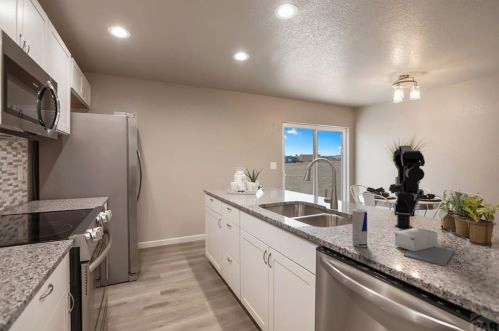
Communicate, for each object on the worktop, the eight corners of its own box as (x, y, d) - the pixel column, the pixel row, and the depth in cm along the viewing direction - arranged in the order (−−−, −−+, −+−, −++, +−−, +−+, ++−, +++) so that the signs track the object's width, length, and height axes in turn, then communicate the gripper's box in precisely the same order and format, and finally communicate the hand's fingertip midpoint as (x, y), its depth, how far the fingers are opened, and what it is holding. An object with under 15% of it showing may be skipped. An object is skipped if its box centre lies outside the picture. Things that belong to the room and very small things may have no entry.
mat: (417, 244, 102) (417, 242, 102) (454, 252, 93) (454, 250, 93) (403, 256, 90) (403, 254, 90) (444, 266, 81) (444, 264, 81)
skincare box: (418, 240, 106) (393, 245, 100) (417, 226, 105) (393, 231, 100) (439, 246, 98) (414, 252, 92) (438, 231, 98) (413, 236, 92)
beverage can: (366, 248, 98) (366, 211, 97) (351, 246, 101) (351, 210, 100) (368, 244, 102) (367, 209, 102) (353, 242, 105) (353, 208, 105)
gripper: (397, 176, 121) (397, 207, 122) (384, 179, 108) (384, 214, 109) (424, 177, 113) (424, 210, 114) (413, 181, 100) (413, 218, 101)
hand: (410, 213), depth 110 cm, fingers closed
